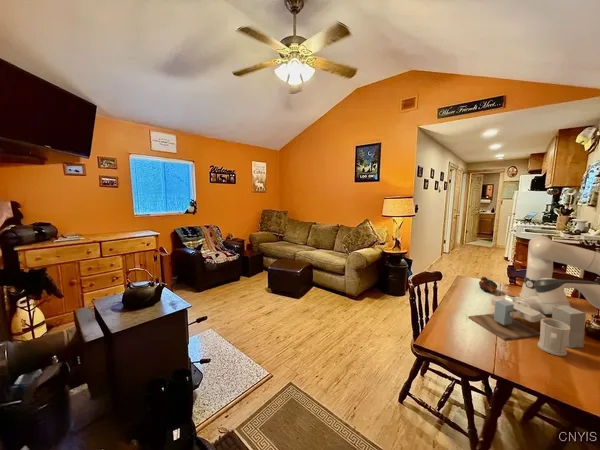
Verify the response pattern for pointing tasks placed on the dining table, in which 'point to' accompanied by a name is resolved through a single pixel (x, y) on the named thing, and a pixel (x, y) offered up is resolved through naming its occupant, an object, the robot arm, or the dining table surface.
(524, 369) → the dining table surface
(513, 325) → the walnut base
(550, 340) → the cup
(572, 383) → the dining table surface
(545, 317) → the robot arm
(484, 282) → the decorative turtle
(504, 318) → the tall grey rectangular prism
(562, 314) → the skincare box
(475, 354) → the dining table surface
